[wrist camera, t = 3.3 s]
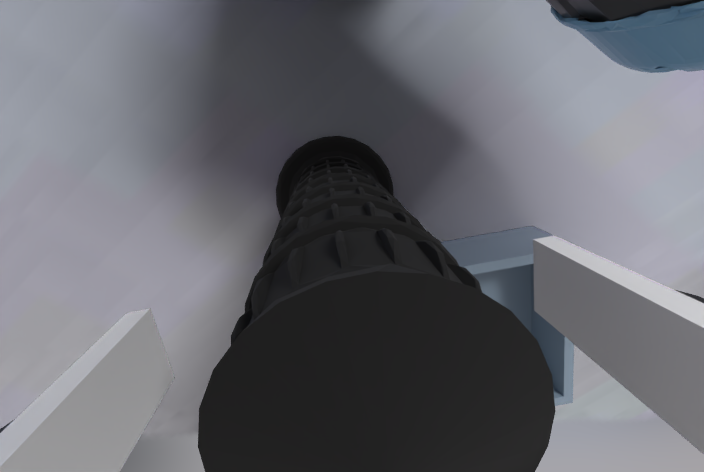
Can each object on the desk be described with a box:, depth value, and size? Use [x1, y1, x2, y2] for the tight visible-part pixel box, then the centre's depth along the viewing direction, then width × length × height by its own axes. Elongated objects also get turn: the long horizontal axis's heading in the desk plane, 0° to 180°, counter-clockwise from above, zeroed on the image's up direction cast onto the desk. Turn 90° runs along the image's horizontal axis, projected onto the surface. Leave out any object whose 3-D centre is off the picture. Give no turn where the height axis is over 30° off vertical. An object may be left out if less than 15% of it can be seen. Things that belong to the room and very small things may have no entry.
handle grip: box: [198, 136, 555, 472], centre depth 19 cm, size 10×26×10 cm
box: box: [440, 226, 574, 406], centre depth 33 cm, size 15×15×6 cm
